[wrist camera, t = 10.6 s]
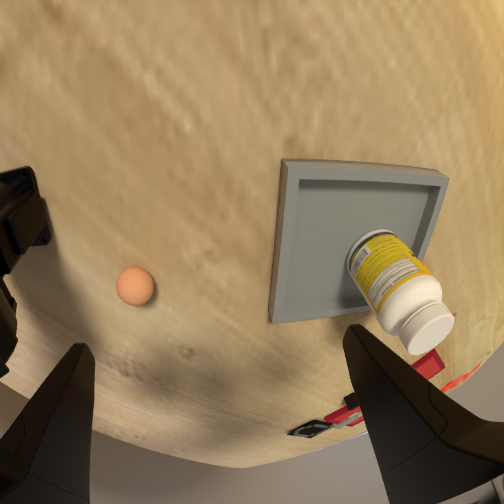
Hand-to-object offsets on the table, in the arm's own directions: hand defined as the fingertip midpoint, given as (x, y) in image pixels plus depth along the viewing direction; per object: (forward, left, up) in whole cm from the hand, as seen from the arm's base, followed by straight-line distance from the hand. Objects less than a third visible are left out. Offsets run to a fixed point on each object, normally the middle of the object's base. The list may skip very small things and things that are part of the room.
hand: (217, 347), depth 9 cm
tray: (+12, -5, -13) cm, 18 cm away
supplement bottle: (+14, -6, -13) cm, 20 cm away
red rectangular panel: (+25, -40, -14) cm, 49 cm away
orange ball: (-6, -7, -13) cm, 16 cm away
